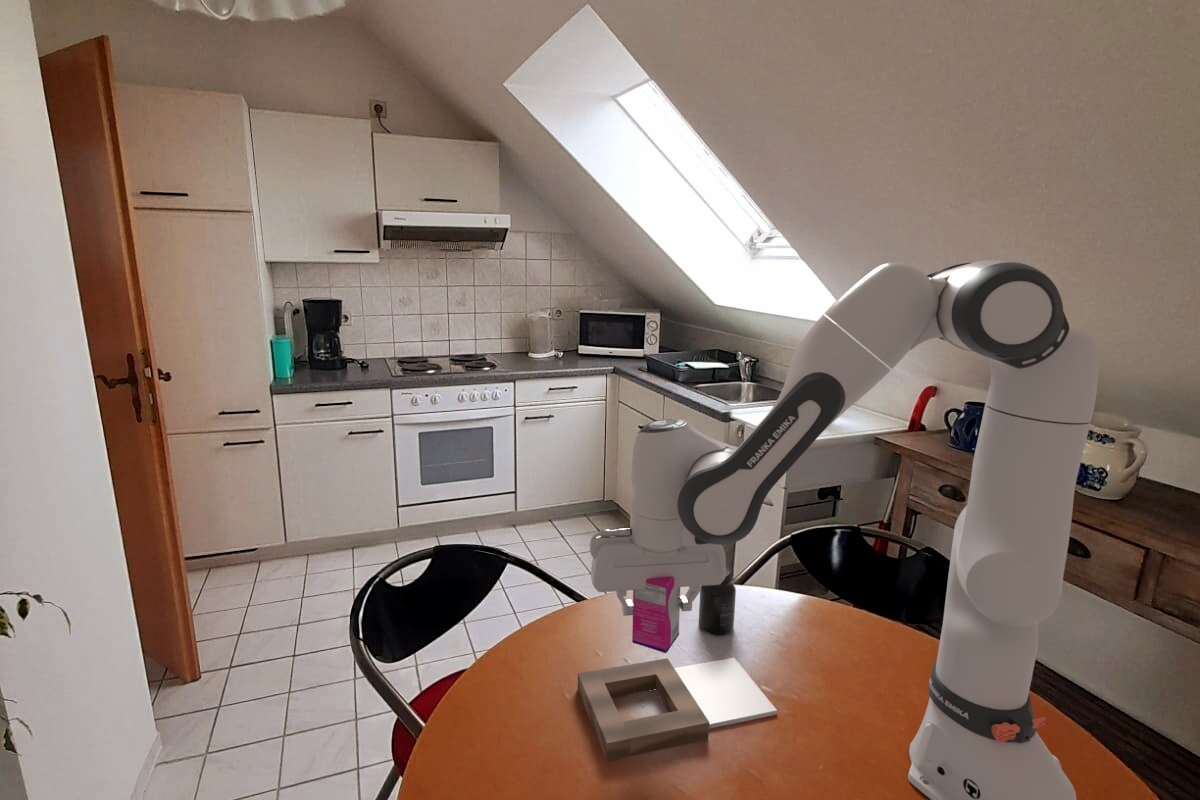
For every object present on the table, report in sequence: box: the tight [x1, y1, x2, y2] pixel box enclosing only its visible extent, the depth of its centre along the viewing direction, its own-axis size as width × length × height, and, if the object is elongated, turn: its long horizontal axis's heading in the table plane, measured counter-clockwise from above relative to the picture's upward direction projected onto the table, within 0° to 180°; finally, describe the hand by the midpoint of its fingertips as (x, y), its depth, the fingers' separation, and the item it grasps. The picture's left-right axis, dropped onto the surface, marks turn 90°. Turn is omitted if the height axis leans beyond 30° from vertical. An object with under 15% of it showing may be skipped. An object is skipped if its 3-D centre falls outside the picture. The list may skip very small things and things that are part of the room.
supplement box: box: [631, 576, 681, 654], centre depth 97 cm, size 6×6×12 cm
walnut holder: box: [577, 657, 710, 762], centre depth 100 cm, size 16×16×3 cm
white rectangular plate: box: [674, 657, 778, 730], centre depth 105 cm, size 14×12×1 cm
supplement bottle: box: [698, 566, 737, 636], centre depth 123 cm, size 7×7×12 cm
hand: (656, 611), depth 97 cm, fingers closed on supplement box, 8 cm apart
